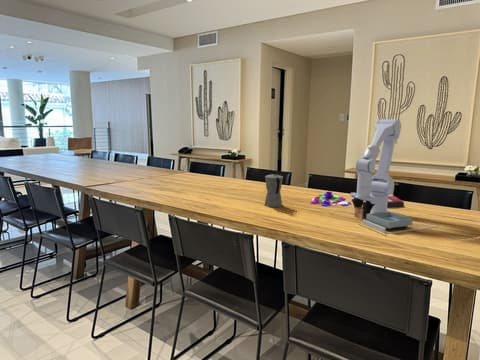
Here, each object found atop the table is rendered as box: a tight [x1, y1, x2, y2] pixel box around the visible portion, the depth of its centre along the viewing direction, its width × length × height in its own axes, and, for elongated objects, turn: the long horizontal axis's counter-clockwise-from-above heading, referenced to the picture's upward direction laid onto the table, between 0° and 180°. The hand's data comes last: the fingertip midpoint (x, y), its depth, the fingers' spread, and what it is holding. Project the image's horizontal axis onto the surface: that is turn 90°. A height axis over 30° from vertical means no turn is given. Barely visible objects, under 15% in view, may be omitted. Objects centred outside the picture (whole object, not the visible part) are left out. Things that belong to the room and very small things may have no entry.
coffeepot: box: [264, 170, 284, 208], centre depth 174 cm, size 15×9×18 cm, turn 10°
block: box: [354, 206, 366, 220], centre depth 152 cm, size 4×4×5 cm
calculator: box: [387, 194, 405, 208], centre depth 181 cm, size 11×4×15 cm
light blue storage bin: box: [365, 210, 414, 231], centre depth 140 cm, size 12×12×4 cm
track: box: [357, 219, 438, 237], centre depth 142 cm, size 16×28×3 cm, turn 111°
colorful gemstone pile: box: [310, 190, 352, 207], centre depth 185 cm, size 25×20×4 cm
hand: (362, 216), depth 152 cm, fingers closed on block, 4 cm apart
